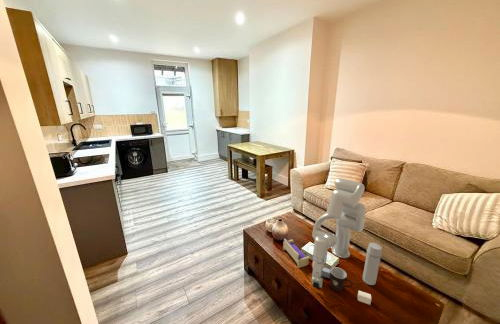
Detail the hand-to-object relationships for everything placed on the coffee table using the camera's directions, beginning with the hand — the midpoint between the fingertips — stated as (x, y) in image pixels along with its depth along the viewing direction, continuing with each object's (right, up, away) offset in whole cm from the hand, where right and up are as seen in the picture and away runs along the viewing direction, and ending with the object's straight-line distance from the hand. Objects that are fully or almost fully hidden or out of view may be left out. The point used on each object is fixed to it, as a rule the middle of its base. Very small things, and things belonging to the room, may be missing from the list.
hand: (316, 281), depth 121 cm
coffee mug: (+12, -3, -3) cm, 13 cm away
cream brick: (+23, -5, -10) cm, 25 cm away
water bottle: (+34, -2, +4) cm, 34 cm away
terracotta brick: (+3, +1, +12) cm, 12 cm away
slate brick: (+7, 0, +8) cm, 11 cm away
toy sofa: (-8, +3, +23) cm, 25 cm away
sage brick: (0, -2, +1) cm, 2 cm away
